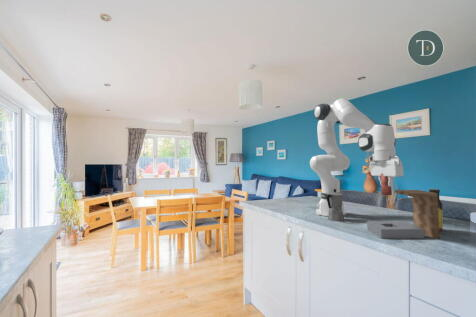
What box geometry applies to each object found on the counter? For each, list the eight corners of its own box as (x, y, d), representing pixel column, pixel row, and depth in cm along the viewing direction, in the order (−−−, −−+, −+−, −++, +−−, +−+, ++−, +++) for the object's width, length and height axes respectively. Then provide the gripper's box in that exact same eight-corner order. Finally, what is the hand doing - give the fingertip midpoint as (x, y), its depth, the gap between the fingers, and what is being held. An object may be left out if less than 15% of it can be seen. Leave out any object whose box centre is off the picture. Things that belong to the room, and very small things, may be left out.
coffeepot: (334, 216, 152) (333, 187, 153) (349, 218, 145) (347, 188, 145) (320, 220, 142) (319, 189, 143) (335, 223, 135) (334, 191, 136)
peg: (388, 194, 117) (387, 173, 117) (393, 195, 113) (392, 173, 113) (380, 194, 117) (378, 173, 117) (385, 195, 113) (383, 173, 113)
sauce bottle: (423, 229, 119) (421, 188, 120) (431, 227, 122) (429, 187, 122) (438, 232, 113) (436, 190, 114) (446, 230, 115) (444, 189, 116)
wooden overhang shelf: (396, 229, 120) (395, 190, 120) (418, 229, 119) (416, 189, 119) (414, 238, 106) (412, 193, 106) (439, 238, 105) (437, 193, 105)
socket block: (367, 229, 121) (366, 221, 121) (405, 229, 119) (405, 221, 120) (381, 238, 107) (380, 229, 107) (424, 238, 106) (424, 229, 106)
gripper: (406, 155, 105) (408, 187, 104) (379, 157, 126) (380, 184, 125) (392, 155, 105) (394, 187, 104) (366, 158, 126) (368, 184, 125)
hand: (386, 186), depth 115 cm, fingers closed on peg, 4 cm apart
